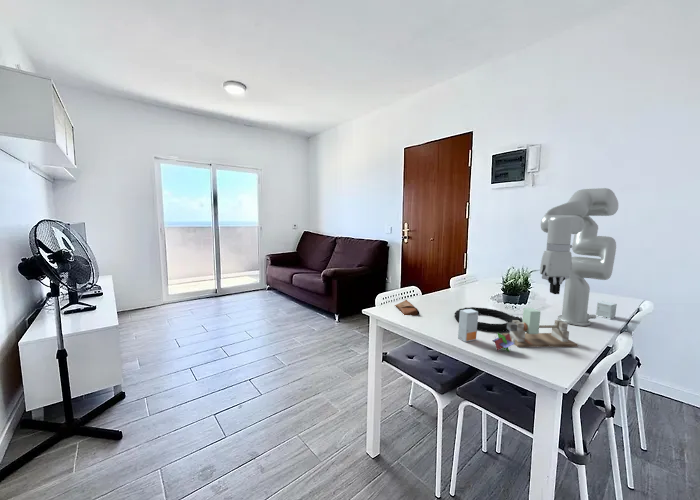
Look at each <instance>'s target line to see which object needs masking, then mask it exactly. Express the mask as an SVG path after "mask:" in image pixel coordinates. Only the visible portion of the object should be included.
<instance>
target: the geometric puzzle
mask: <svg viewBox="0 0 700 500" xmlns="http://www.w3.org/2000/svg"><path fill="white" fill-rule="evenodd" d="M507 333H508V334H506V335H505V336H504V335H502V333H501V332H496V334H495V336H497V337H496V338H494V339H493V340H492V342H493V343H494V346H495V349H496V351H497V352H499V351H502V350H505V351H502V352H508V353H510V351H511V349H509V347H512V346H515V345H514V344H515V340H514V338H513V337H512V336H511V335H510V334H509V333H510V332H507ZM510 336H511V337H512V342H511V338H510Z"/></svg>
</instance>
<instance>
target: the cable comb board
mask: <svg viewBox="0 0 700 500" xmlns="http://www.w3.org/2000/svg"><path fill="white" fill-rule="evenodd" d="M506 323H507V329H508V330H510V331H509V332H507V333H506V332H501V334H502V335H504V336H505V335H506V334H508V333H509V334H510V335H511V336H512V337H513V338H514V340H515V344H513V345H514V346H515V347H517V348H553V347H555V348H564V347H565V348H567V347H569V348H571V347H573V348H574V347H577V348H578V345H579V344H578V343H576V342H574V341H572V340H570V339H569V338H570V331H568V323H566V322H563V321H561V320H559V319H555V320H554V324H553V325H552V324H551V325H544V324H543V325H540V324H539V329H551V332H543V333H541V332H539V334H528V333H526V332H524V331H527V329H528V327H527V324H526V323H522V322H520V321H519V320H512V322H507V321H506ZM511 336H510V338H511V342H512V337H511Z"/></svg>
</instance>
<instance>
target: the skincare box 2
mask: <svg viewBox="0 0 700 500" xmlns="http://www.w3.org/2000/svg"><path fill="white" fill-rule="evenodd" d="M617 306H618V304H617V303H613V302H609V301H605V300H601V301H598V302H597V303H596V313H595V315H598V316H597V317H599V316H603V317H607V318H612V319H614V318H613V317H616V312H617ZM603 317H602V318H603ZM607 318H606V319H607Z"/></svg>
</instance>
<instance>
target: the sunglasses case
mask: <svg viewBox="0 0 700 500" xmlns="http://www.w3.org/2000/svg"><path fill="white" fill-rule="evenodd" d="M395 306H396V307H395ZM394 307H395V308H396V309H398V311H401V312H402V313H403V314H404V315H412V316H420V310H419V309H418V308H417V307H416V306H414V304H412V303H411V302H410V301H409V300H407V299H405V300H403V301H402V302H399V303H397V304H395V305H394ZM401 312H400V313H401ZM402 313H401V314H402ZM403 314H402V315H403Z"/></svg>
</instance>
